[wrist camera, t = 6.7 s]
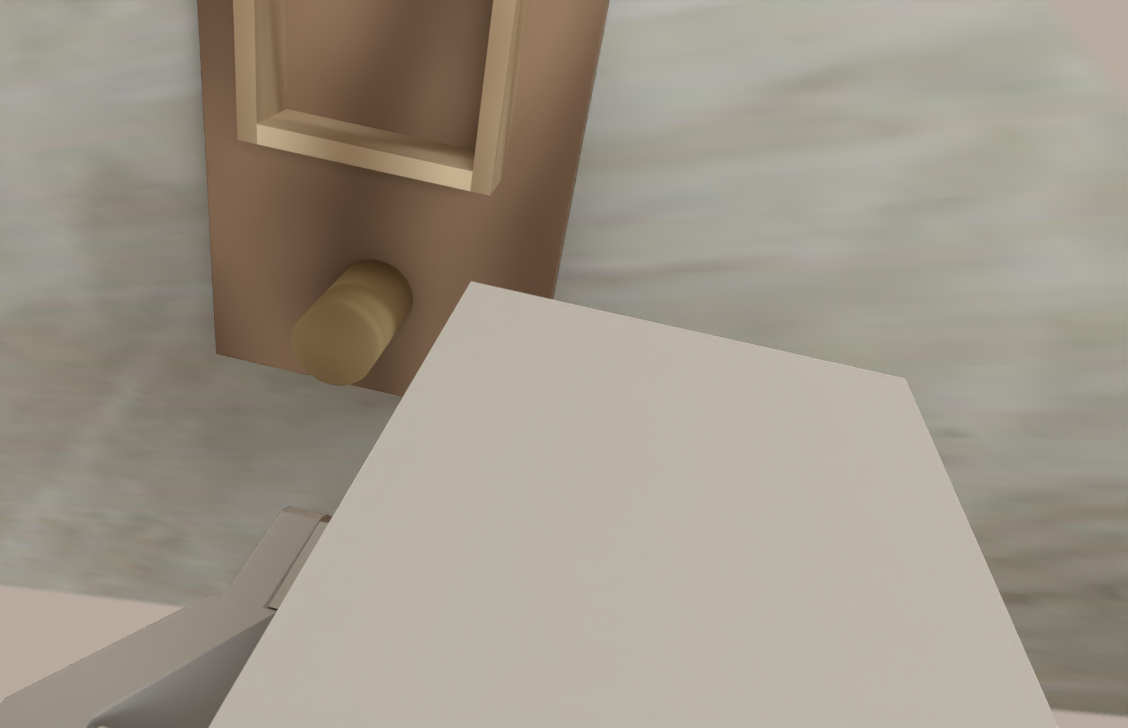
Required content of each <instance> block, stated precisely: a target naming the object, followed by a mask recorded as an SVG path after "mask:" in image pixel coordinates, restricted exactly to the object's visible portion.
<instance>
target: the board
mask: <svg viewBox="0 0 1128 728" xmlns="http://www.w3.org/2000/svg"><path fill="white" fill-rule="evenodd" d="M197 1H198V20H199V39H200V57H201V76H202V95H203V114H204V132H205V151H206V170H207V188H208V207H209V226H210V244H211V263H212V282H213V300H214V319H215V338H216V354H220V355H224V356H228V357H233V358H237V359H241V360H246V361H250V362H254V363H259V364H263V365H267V366H272V367H276V368H281V369H285V370H289V371H294V372H298V373H302V374H307V375H311V376H313V377H315V378H317V379H319V380H320V381H323V382H325V383H329V384H333V385H349V384H350V385H354V386H359V387H363V388H367V389H372V390H376V391H381V392H385V393H389V394H394V395H398V396H402V397H403V396H404V394H405V393H406V391H407V389H408V387H409V386H410V384H411V382H412V381H413V379H414V377H415V376H416V374H417V372H418V370H419V369H420V367H421V365H422V364H423V362H424V360H425V359H426V357H427V355H428V353H429V352H430V350H431V348H432V347H433V345H434V343H435V342H436V340H437V338H438V336H439V335H440V333H441V331H442V330H443V328H444V326H445V325H446V323H447V321H448V319H449V318H450V316H451V314H452V313H453V311H454V309H455V308H456V306H457V304H458V302H459V301H460V299H461V297H462V296H463V294H464V292H465V291H466V289H467V287H468V285H469V284H470V282H471V281H472V282H477V283H481V284H486V285H490V286H495V287H499V288H504V289H508V290H513V291H517V292H521V293H526V294H530V295H535V296H539V297H544V298H548V299H553V297H554V292H555V287H556V281H557V276H558V271H559V266H560V260H561V255H562V250H563V244H564V239H565V234H566V228H567V223H568V218H569V213H570V207H571V202H572V197H573V191H574V186H575V181H576V175H577V170H578V165H579V160H580V154H581V149H582V144H583V138H584V133H585V128H586V122H587V117H588V112H589V107H590V101H591V96H592V91H593V85H594V80H595V75H596V69H597V64H598V59H599V54H600V48H601V43H602V38H603V32H604V27H605V22H606V16H607V11H608V6H609V1H610V0H197Z"/></svg>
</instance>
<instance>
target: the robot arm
mask: <svg viewBox="0 0 1128 728" xmlns="http://www.w3.org/2000/svg"><path fill="white" fill-rule="evenodd" d="M332 517H333V516H329V515H326V516H325V515H322V514H318V513H314V512H310V511H306V510H303V509H299V508H295V507H291V506H288V507H287V508H285V509H284V510H283V511H281V512H280V513H279V514H278V515H277V517H276V518H275V520H274V521H273V522H272V524H271V525H270V527H269V528H268V530H267V531H266V533H265V534H264V536H263V537H262V539H261V540H260V541H259V543H258V544H257V546H256V547H255V549H254V550H253V552H252V553H251V555H250V556H249V558H248V559H247V560H246V562H245V563H244V565H243V566H242V568H241V569H240V571H239V572H238V574H237V575H236V577H235V578H234V579H233V581H232V582H231V584H230V585H229V587H228V588H227V590H226V591H225V593H224V594H223V596H222V597H217V596H213V595H208V596H206V597H204V598H202V599H200V600H198V601H196V602H194V603H192V604H190V605H188V606H187V607H185V608H183V609H181V610H179V611H177V612H175V613H173V614H171V615H169V616H167V617H165V618H163V619H161V620H159V621H157V622H155V623H153V624H151V625H149V626H147V627H145V628H143V629H141V630H139V631H137V632H135V633H133V634H131V635H129V636H127V637H125V638H123V639H121V640H119V641H117V642H115V643H113V644H111V645H109V646H107V647H105V648H103V649H101V650H99V651H97V652H95V653H93V654H91V655H89V656H88V657H85V658H84V659H81V660H80V661H77V662H75V663H74V664H72V665H70V666H68V667H66V668H64V669H62V670H60V671H58V672H56V673H54V674H52V675H50V676H48V677H46V678H44V679H42V680H40V681H38V682H36V683H34V684H32V685H30V686H28V687H26V688H24V689H22V690H20V691H18V692H16V693H14V694H12V695H10V696H8V697H6V698H5V699H4V700H3V701H2V702H1V704H0V728H208V727H209V726H210V724H211V722H212V721H213V719H214V717H215V716H216V714H217V712H218V710H219V709H220V707H221V705H222V704H223V702H224V700H225V699H226V697H227V695H228V693H229V692H230V690H231V688H232V687H233V685H234V683H235V682H236V680H237V678H238V676H239V675H240V673H241V671H242V670H243V668H244V666H245V665H246V663H247V661H248V659H249V658H250V656H251V654H252V653H253V651H254V649H255V648H256V646H257V644H258V642H259V641H260V639H261V637H262V636H263V634H264V632H265V631H266V629H267V627H268V625H269V624H270V622H271V620H272V619H273V617H274V615H275V614H276V612H277V610H278V608H279V607H280V605H281V603H282V602H283V600H284V598H285V597H286V595H287V593H288V591H289V590H290V588H291V586H292V585H293V583H294V581H295V580H296V578H297V576H298V574H299V573H300V571H301V569H302V568H303V566H304V564H305V563H306V561H307V559H308V557H309V556H310V554H311V552H312V551H313V549H314V547H315V546H316V544H317V542H318V540H319V539H320V537H321V535H322V534H323V532H324V530H325V529H326V527H327V525H328V523H329V522H330V520H331V518H332Z"/></svg>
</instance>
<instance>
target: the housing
mask: <svg viewBox="0 0 1128 728" xmlns="http://www.w3.org/2000/svg"><path fill="white" fill-rule="evenodd" d="M208 728H1059V727H1058V725H1057V722H1056V720H1055V718H1054V716H1053V713H1052V711H1051V709H1050V706H1049V704H1048V702H1047V700H1046V697H1045V695H1044V693H1043V691H1042V688H1041V686H1040V684H1039V681H1038V679H1037V677H1036V675H1035V672H1034V670H1033V668H1032V666H1031V663H1030V661H1029V659H1028V656H1027V654H1026V652H1025V650H1024V647H1023V645H1022V643H1021V641H1020V638H1019V636H1018V634H1017V631H1016V629H1015V627H1014V625H1013V622H1012V620H1011V618H1010V615H1009V613H1008V611H1007V609H1006V606H1005V604H1004V602H1003V600H1002V597H1001V595H1000V593H999V590H998V588H997V586H996V584H995V581H994V579H993V577H992V575H991V572H990V570H989V568H988V565H987V563H986V561H985V559H984V556H983V554H982V552H981V550H980V547H979V545H978V543H977V540H976V538H975V536H974V534H973V531H972V529H971V527H970V524H969V522H968V520H967V518H966V515H965V513H964V511H963V509H962V506H961V504H960V502H959V499H958V497H957V495H956V493H955V490H954V488H953V486H952V484H951V481H950V479H949V477H948V474H947V472H946V470H945V468H944V465H943V463H942V461H941V458H940V456H939V454H938V452H937V449H936V447H935V445H934V443H933V440H932V438H931V436H930V433H929V431H928V429H927V427H926V424H925V422H924V420H923V418H922V415H921V413H920V411H919V408H918V406H917V404H916V402H915V399H914V397H913V395H912V393H911V390H910V388H909V386H908V383H907V381H906V379H905V378H902V377H897V376H893V375H888V374H884V373H879V372H875V371H870V370H866V369H861V368H857V367H852V366H848V365H844V364H839V363H835V362H830V361H826V360H821V359H817V358H812V357H808V356H803V355H799V354H794V353H790V352H785V351H781V350H776V349H772V348H767V347H763V346H759V345H754V344H750V343H745V342H741V341H736V340H732V339H727V338H723V337H718V336H714V335H709V334H705V333H700V332H696V331H691V330H687V329H682V328H678V327H674V326H669V325H665V324H660V323H656V322H651V321H647V320H642V319H638V318H633V317H629V316H624V315H620V314H615V313H611V312H606V311H602V310H598V309H593V308H589V307H584V306H580V305H575V304H571V303H566V302H562V301H557V300H553V299H548V298H544V297H539V296H535V295H530V294H526V293H521V292H517V291H513V290H508V289H504V288H499V287H495V286H490V285H486V284H481V283H477V282H472V281H471V282H470V284H469V285H468V287H467V289H466V291H465V292H464V294H463V296H462V297H461V299H460V301H459V302H458V304H457V306H456V308H455V309H454V311H453V313H452V314H451V316H450V318H449V319H448V321H447V323H446V325H445V326H444V328H443V330H442V331H441V333H440V335H439V336H438V338H437V340H436V342H435V343H434V345H433V347H432V348H431V350H430V352H429V353H428V355H427V357H426V359H425V360H424V362H423V364H422V365H421V367H420V369H419V370H418V372H417V374H416V376H415V377H414V379H413V381H412V382H411V384H410V386H409V387H408V389H407V391H406V393H405V394H404V396H403V398H402V399H401V401H400V403H399V404H398V406H397V408H396V410H395V411H394V413H393V415H392V416H391V418H390V420H389V421H388V423H387V425H386V427H385V428H384V430H383V432H382V433H381V435H380V437H379V438H378V440H377V442H376V444H375V445H374V447H373V449H372V450H371V452H370V454H369V455H368V457H367V459H366V461H365V462H364V464H363V466H362V467H361V469H360V471H359V472H358V474H357V476H356V478H355V479H354V481H353V483H352V484H351V486H350V488H349V489H348V491H347V493H346V495H345V496H344V498H343V500H342V501H341V503H340V505H339V506H338V508H337V510H336V512H335V513H334V515H333V517H332V518H331V520H330V522H329V523H328V525H327V527H326V529H325V530H324V532H323V534H322V535H321V537H320V539H319V540H318V542H317V544H316V546H315V547H314V549H313V551H312V552H311V554H310V556H309V557H308V559H307V561H306V563H305V564H304V566H303V568H302V569H301V571H300V573H299V574H298V576H297V578H296V580H295V581H294V583H293V585H292V586H291V588H290V590H289V591H288V593H287V595H286V597H285V598H284V600H283V602H282V603H281V605H280V607H279V608H278V610H277V612H276V614H275V615H274V617H273V619H272V620H271V622H270V624H269V625H268V627H267V629H266V631H265V632H264V634H263V636H262V637H261V639H260V641H259V642H258V644H257V646H256V648H255V649H254V651H253V653H252V654H251V656H250V658H249V659H248V661H247V663H246V665H245V666H244V668H243V670H242V671H241V673H240V675H239V676H238V678H237V680H236V682H235V683H234V685H233V687H232V688H231V690H230V692H229V693H228V695H227V697H226V699H225V700H224V702H223V704H222V705H221V707H220V709H219V710H218V712H217V714H216V716H215V717H214V719H213V721H212V722H211V724H210V726H209V727H208Z"/></svg>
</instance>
